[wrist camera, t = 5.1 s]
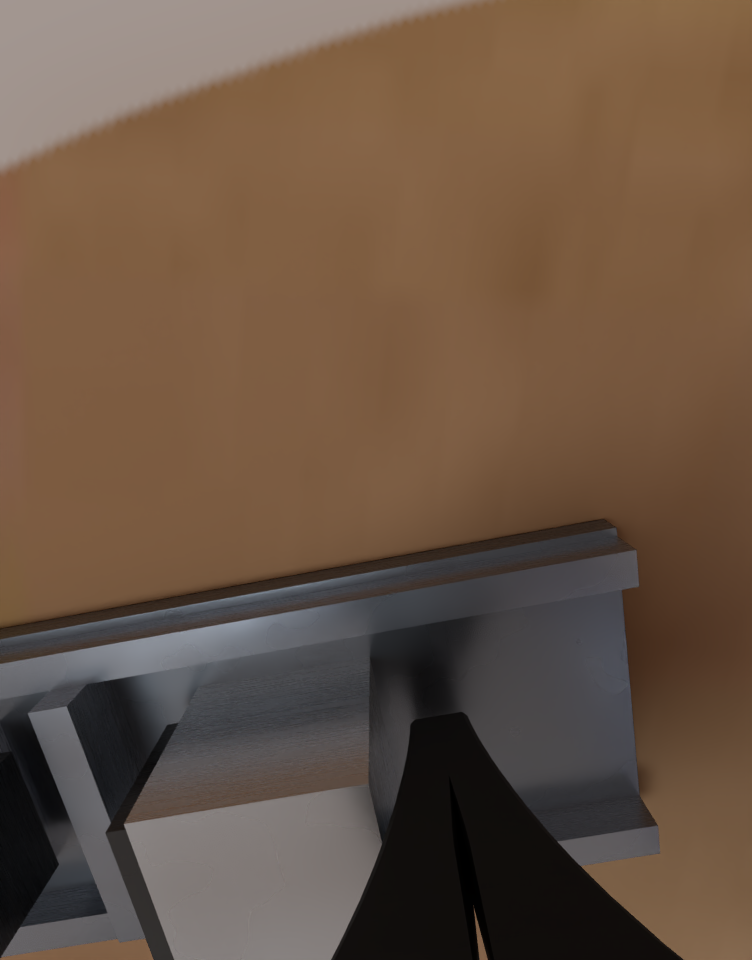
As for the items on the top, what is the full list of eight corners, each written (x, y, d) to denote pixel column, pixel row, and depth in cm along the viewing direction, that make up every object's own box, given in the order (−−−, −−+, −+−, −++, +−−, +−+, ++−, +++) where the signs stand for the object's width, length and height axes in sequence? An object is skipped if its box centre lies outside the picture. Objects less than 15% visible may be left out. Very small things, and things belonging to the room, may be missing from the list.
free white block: (369, 656, 11) (368, 783, 8) (401, 801, 12) (411, 971, 9) (172, 691, 11) (87, 830, 8) (217, 831, 12) (158, 1008, 9)
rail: (603, 519, 11) (731, 604, 7) (630, 807, 13) (745, 1004, 9) (-232, 671, 12) (-538, 825, 8) (-99, 925, 14) (-293, 1155, 10)
